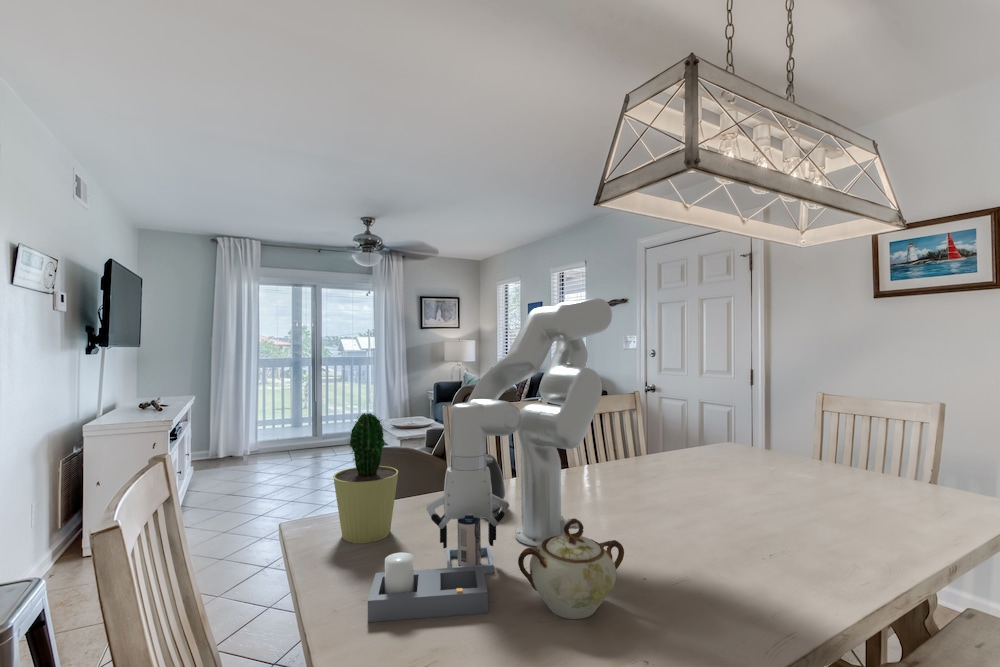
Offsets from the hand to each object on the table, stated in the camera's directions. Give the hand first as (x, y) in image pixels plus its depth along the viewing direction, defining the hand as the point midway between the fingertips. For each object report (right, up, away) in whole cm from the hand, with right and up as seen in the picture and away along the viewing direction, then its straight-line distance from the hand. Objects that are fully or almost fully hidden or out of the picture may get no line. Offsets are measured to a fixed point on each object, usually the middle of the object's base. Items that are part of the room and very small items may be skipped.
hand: (468, 544), depth 101 cm
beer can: (0, -4, 0) cm, 4 cm away
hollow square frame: (0, -4, 0) cm, 4 cm away
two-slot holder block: (-6, -4, -15) cm, 16 cm away
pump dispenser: (+3, -5, +35) cm, 35 cm away
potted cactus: (-26, -5, +17) cm, 31 cm away
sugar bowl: (+19, -4, -17) cm, 26 cm away
